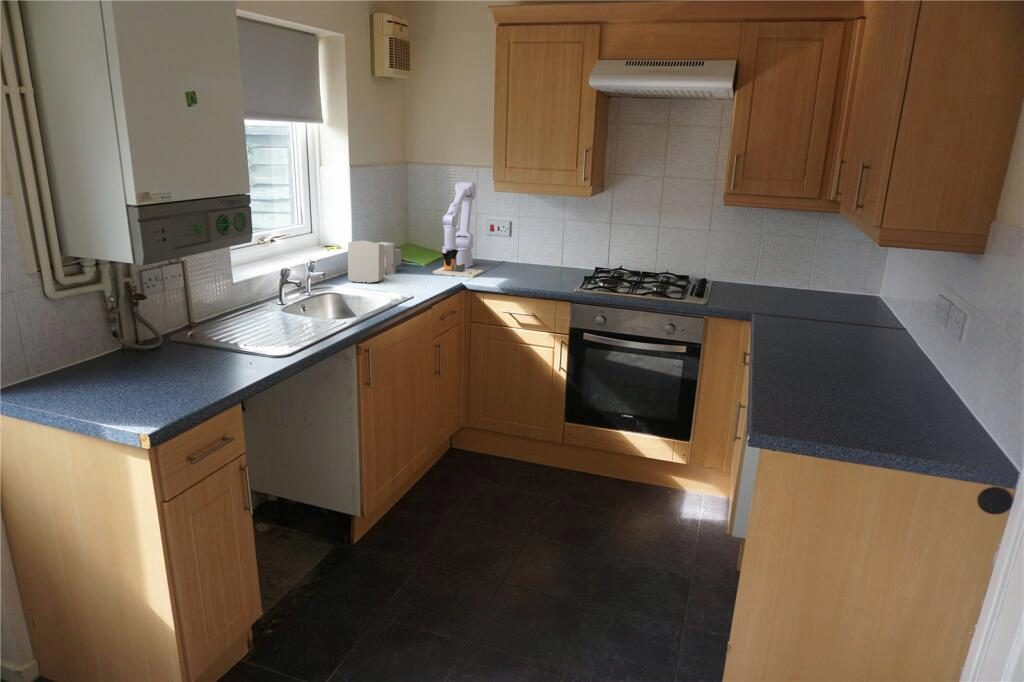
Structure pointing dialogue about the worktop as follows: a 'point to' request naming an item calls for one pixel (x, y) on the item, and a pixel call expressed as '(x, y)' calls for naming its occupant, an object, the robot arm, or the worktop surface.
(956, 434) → the worktop surface
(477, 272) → the light wooden flat board
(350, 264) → the electrical switch box
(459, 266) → the breaker lever
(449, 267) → the cap
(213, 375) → the worktop surface
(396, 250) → the circuit breaker
